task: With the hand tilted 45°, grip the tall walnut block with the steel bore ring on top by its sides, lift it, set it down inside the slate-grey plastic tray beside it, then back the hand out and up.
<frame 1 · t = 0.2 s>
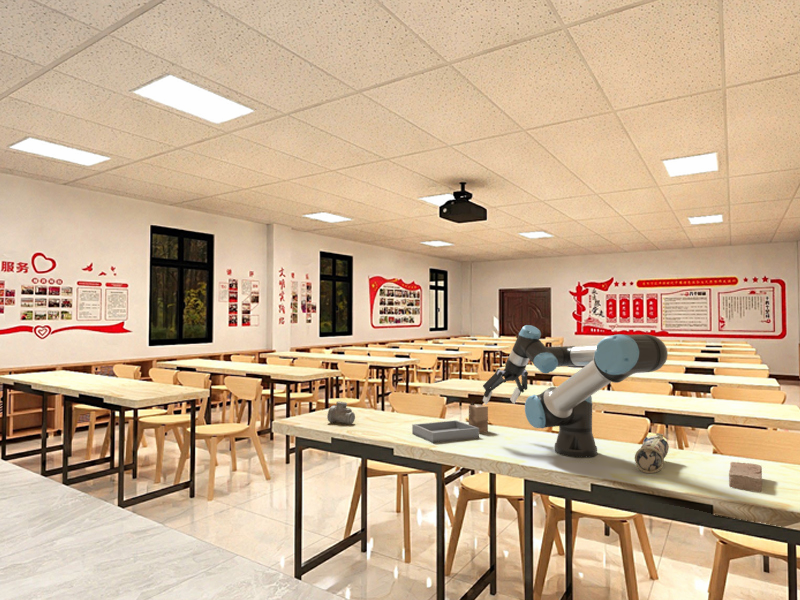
hand: (498, 401, 218), 15 cm above the table, fingers open, 13 cm apart
brick: (745, 484, 163), on the table
tray: (445, 435, 224), on the table
pencil case: (652, 468, 179), on the table
bored block: (478, 431, 233), on the table
pipe fitting: (341, 424, 248), on the table
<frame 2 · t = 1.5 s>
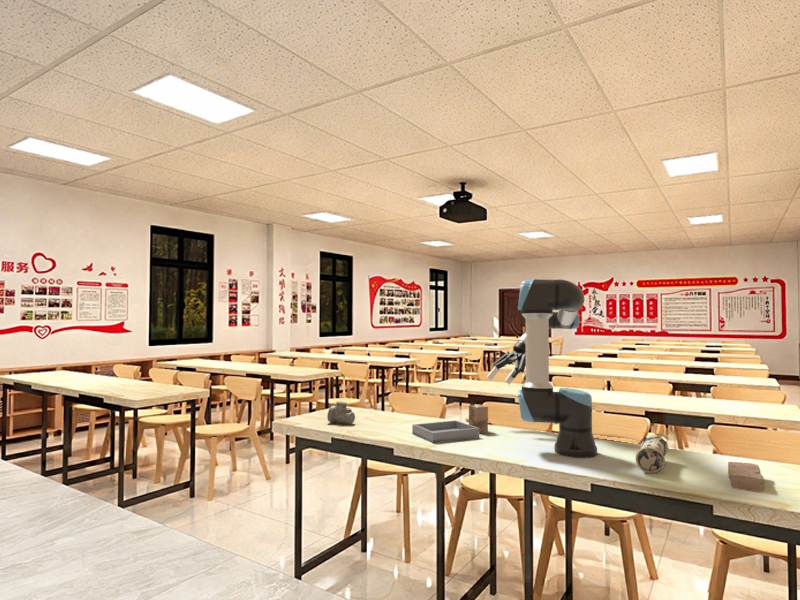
hand: (497, 380, 239), 22 cm above the table, fingers open, 13 cm apart
nothing on the table moved.
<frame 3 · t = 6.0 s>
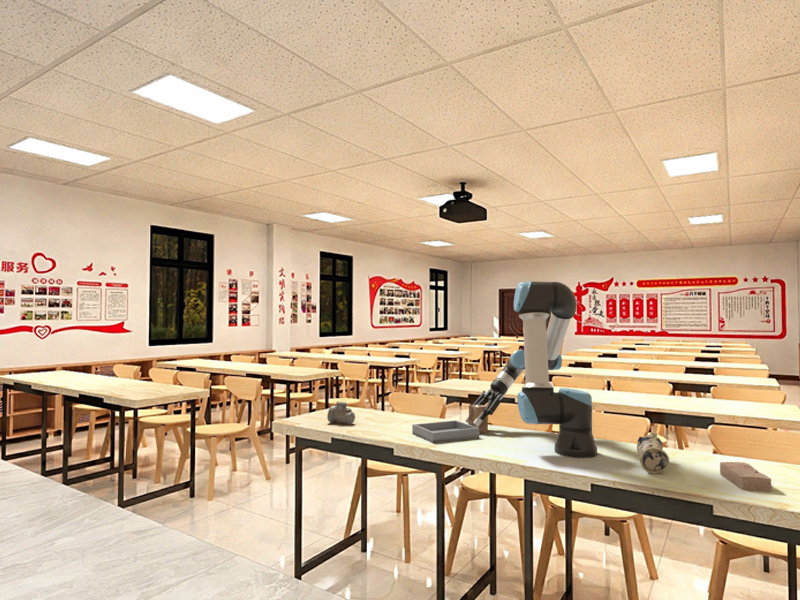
hand: (471, 423, 232), 4 cm above the table, fingers closed on bored block, 6 cm apart
bored block: (478, 431, 233), on the table, touching gripper
when the fingers open (6 cm above the table, at t = 10.9 s): bored block drops 1 cm, resting on tray.
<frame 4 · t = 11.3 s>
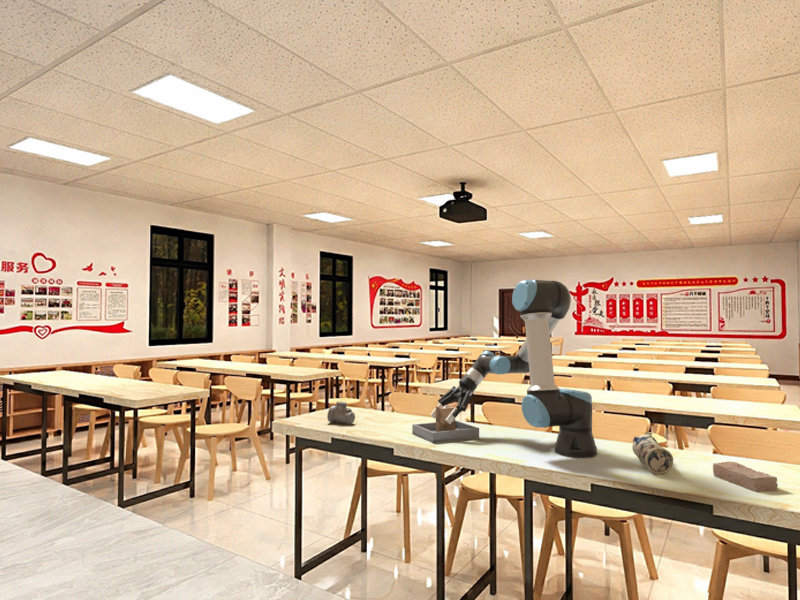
hand: (439, 419, 223), 7 cm above the table, fingers open, 12 cm apart
bored block: (445, 433, 224), point 1 cm above the table, touching tray
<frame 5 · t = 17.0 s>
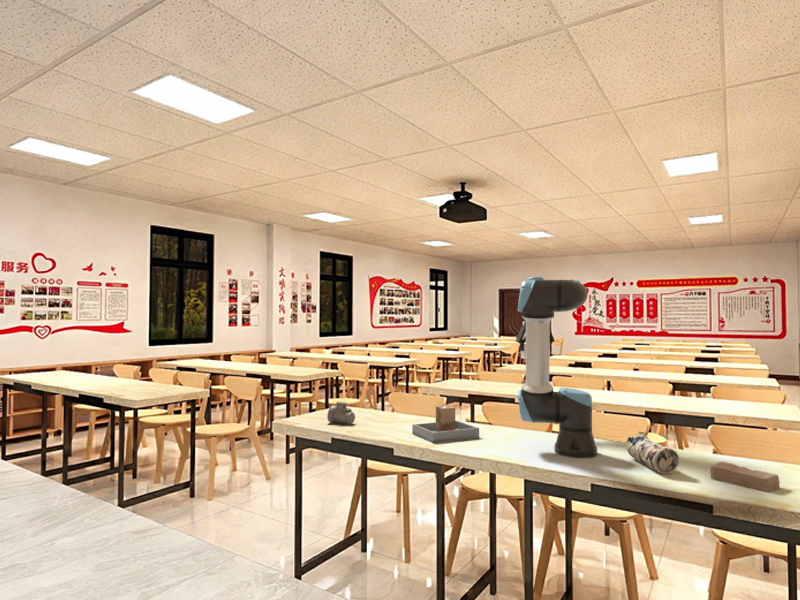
hand: (535, 358, 241), 32 cm above the table, fingers open, 13 cm apart
at the end: bored block inside the target area on the tray (0.1 cm from its centre), point 1.0 cm above the tray's base; bored block tilted 0°; the gripper is holding nothing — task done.
